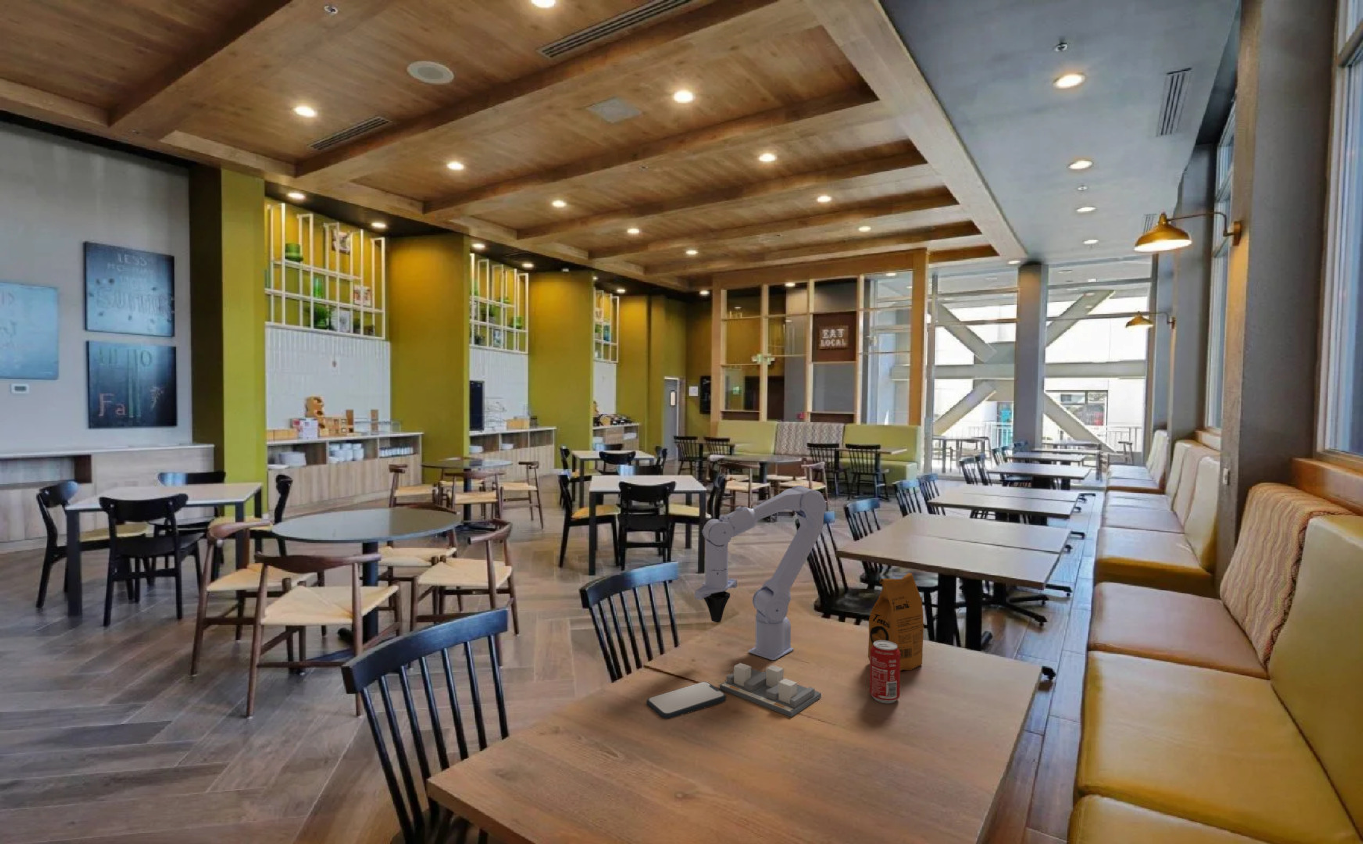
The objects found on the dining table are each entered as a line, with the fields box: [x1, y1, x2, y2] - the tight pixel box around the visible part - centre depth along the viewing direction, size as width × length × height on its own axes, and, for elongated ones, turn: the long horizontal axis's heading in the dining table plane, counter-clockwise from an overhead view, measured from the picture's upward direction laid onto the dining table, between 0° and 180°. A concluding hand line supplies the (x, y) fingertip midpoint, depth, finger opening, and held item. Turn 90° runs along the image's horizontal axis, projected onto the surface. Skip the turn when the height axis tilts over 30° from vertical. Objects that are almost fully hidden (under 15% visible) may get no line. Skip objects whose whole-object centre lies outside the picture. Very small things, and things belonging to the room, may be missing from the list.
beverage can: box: [869, 640, 901, 704], centre depth 142 cm, size 6×6×12 cm
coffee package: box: [867, 572, 924, 672], centre depth 160 cm, size 10×12×22 cm
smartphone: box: [646, 681, 727, 720], centre depth 140 cm, size 9×2×16 cm
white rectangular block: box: [765, 664, 784, 687], centre depth 146 cm, size 2×3×4 cm
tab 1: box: [733, 662, 752, 687], centre depth 147 cm, size 2×3×4 cm
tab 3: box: [779, 678, 798, 704], centre depth 139 cm, size 2×3×4 cm
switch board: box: [719, 666, 822, 718], centre depth 144 cm, size 12×19×2 cm, turn 48°
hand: (716, 621), depth 163 cm, fingers closed
